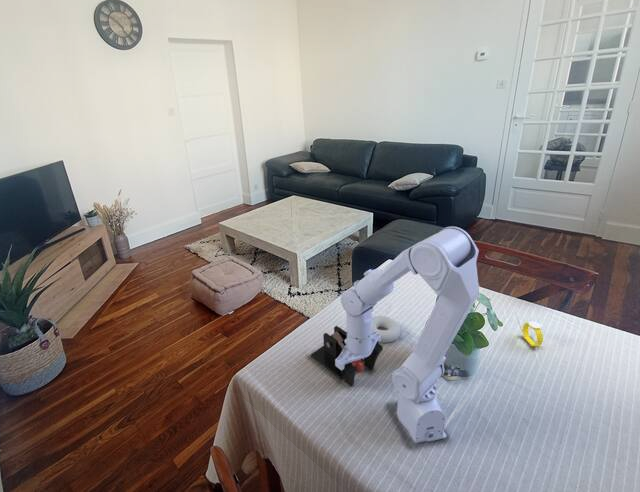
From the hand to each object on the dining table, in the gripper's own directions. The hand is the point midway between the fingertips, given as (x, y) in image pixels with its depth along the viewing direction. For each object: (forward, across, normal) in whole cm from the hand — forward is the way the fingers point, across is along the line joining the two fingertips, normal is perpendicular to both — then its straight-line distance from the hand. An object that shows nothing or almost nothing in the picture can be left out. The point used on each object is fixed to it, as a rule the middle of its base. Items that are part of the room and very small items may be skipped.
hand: (359, 375), depth 84 cm
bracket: (0, 0, -8) cm, 8 cm away
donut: (0, -17, -6) cm, 18 cm away
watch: (+1, -43, +23) cm, 48 cm away
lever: (-3, 0, -5) cm, 6 cm away
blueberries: (+1, -18, +14) cm, 23 cm away
